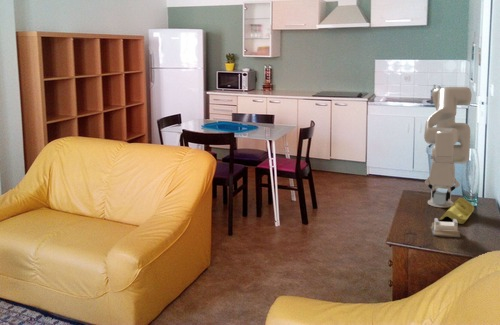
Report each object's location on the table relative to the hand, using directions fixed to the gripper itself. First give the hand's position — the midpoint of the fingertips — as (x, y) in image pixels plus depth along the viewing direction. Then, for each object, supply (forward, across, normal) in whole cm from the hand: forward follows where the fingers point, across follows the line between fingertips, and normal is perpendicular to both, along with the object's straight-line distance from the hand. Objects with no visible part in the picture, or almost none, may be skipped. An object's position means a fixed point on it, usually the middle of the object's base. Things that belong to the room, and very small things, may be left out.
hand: (440, 199), depth 225 cm
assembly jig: (+15, +3, -1) cm, 15 cm away
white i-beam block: (+14, +3, -1) cm, 14 cm away
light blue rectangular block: (0, 0, 0) cm, 0 cm away
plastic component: (+15, +7, +22) cm, 28 cm away
